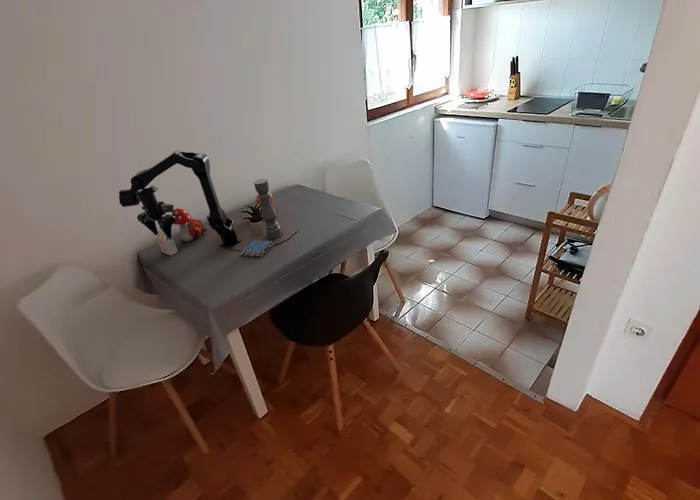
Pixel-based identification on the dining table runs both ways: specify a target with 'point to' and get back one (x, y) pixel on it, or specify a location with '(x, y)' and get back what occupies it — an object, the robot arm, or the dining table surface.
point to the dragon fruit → (196, 228)
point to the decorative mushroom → (183, 223)
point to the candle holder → (267, 209)
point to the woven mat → (256, 248)
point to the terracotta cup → (261, 203)
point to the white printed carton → (166, 244)
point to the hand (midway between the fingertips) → (163, 236)
